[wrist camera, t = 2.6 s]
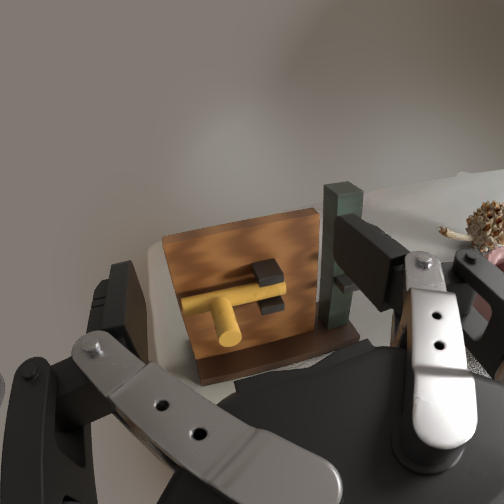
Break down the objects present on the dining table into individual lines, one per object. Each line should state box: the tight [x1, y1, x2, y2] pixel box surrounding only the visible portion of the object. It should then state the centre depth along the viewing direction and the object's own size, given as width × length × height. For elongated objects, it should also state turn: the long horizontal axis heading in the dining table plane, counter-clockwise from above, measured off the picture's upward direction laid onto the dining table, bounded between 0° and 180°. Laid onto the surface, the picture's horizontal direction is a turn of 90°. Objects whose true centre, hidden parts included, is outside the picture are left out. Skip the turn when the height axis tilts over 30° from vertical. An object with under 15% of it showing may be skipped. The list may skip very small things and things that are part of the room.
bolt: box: [181, 281, 286, 347], centre depth 28 cm, size 10×6×2 cm, turn 105°
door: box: [162, 181, 364, 386], centre depth 34 cm, size 20×8×19 cm, turn 105°
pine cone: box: [437, 201, 504, 252], centre depth 49 cm, size 22×10×10 cm, turn 101°
